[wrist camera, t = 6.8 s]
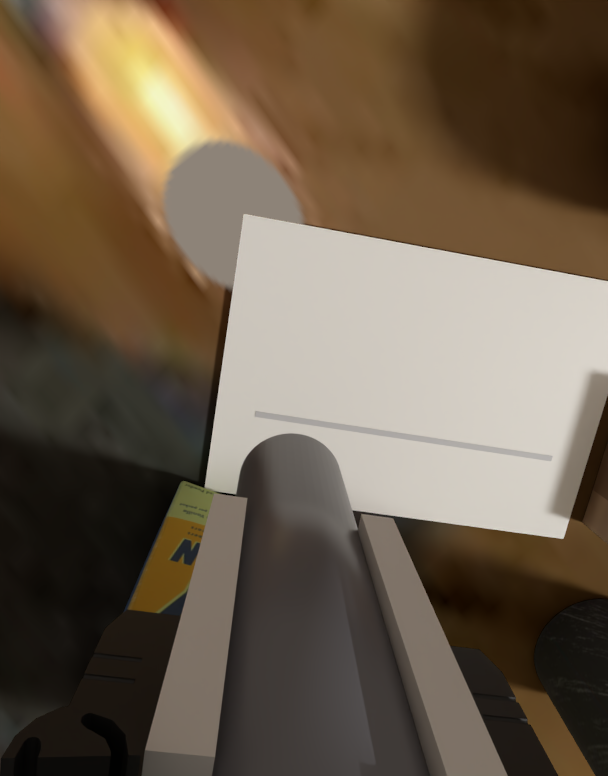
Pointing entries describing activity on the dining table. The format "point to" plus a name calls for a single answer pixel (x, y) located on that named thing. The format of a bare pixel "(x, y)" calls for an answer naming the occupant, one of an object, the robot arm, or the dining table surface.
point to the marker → (308, 633)
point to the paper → (415, 374)
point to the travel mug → (579, 675)
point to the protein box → (173, 553)
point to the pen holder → (599, 502)
